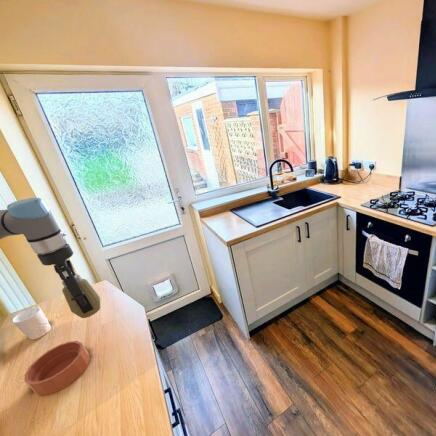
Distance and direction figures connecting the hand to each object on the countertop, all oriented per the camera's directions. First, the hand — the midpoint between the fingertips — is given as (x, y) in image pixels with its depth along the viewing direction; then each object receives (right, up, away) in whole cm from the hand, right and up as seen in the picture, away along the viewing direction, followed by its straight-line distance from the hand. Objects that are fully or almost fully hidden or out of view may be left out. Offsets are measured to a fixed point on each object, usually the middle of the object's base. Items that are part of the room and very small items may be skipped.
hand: (86, 304), depth 84 cm
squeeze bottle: (0, -3, +1) cm, 3 cm away
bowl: (-5, -21, -3) cm, 22 cm away
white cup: (-31, -17, +15) cm, 38 cm away
